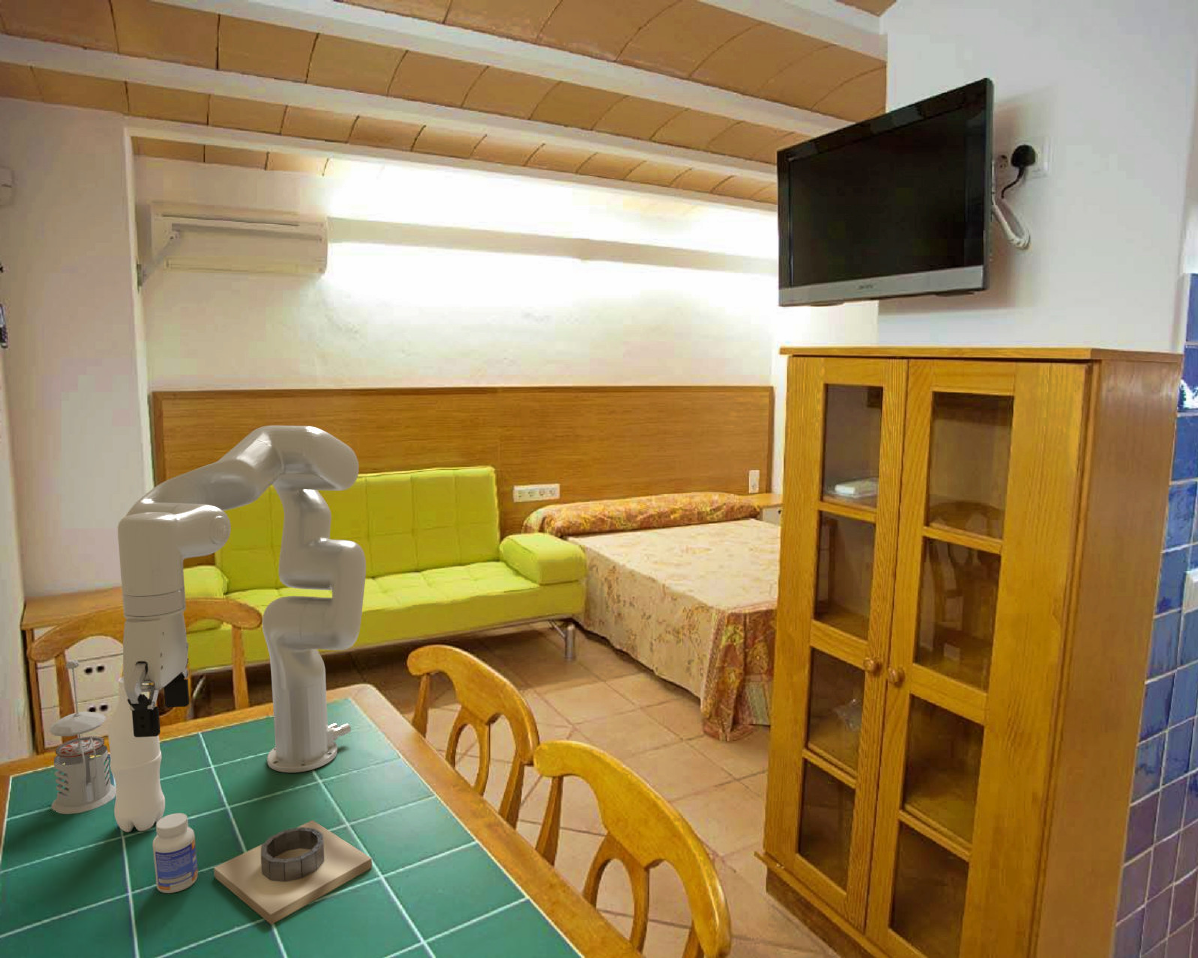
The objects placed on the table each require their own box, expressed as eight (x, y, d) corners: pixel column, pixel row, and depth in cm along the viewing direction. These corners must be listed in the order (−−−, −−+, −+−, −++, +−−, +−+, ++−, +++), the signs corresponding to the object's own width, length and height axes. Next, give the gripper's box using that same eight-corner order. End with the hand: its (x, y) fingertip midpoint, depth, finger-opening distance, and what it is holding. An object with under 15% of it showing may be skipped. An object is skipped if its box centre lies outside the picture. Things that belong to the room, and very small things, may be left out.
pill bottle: (204, 881, 117) (199, 819, 116) (164, 899, 113) (158, 835, 112) (189, 865, 121) (185, 805, 119) (150, 882, 117) (145, 820, 115)
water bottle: (144, 838, 127) (131, 688, 124) (105, 833, 129) (91, 685, 125) (176, 814, 134) (165, 671, 131) (139, 809, 136) (127, 668, 132)
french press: (109, 777, 146) (97, 645, 143) (127, 802, 138) (115, 663, 134) (45, 797, 139) (31, 660, 136) (60, 825, 131) (46, 679, 128)
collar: (304, 838, 125) (303, 820, 125) (335, 860, 120) (334, 841, 119) (250, 865, 118) (249, 846, 118) (281, 889, 113) (280, 869, 113)
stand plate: (312, 828, 130) (312, 820, 130) (371, 867, 120) (371, 858, 120) (214, 876, 118) (213, 867, 118) (271, 924, 108) (270, 914, 108)
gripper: (153, 586, 119) (161, 697, 121) (93, 622, 102) (103, 750, 104) (206, 585, 120) (213, 695, 122) (155, 620, 103) (164, 747, 105)
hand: (162, 720), depth 113 cm, fingers open, 9 cm apart
